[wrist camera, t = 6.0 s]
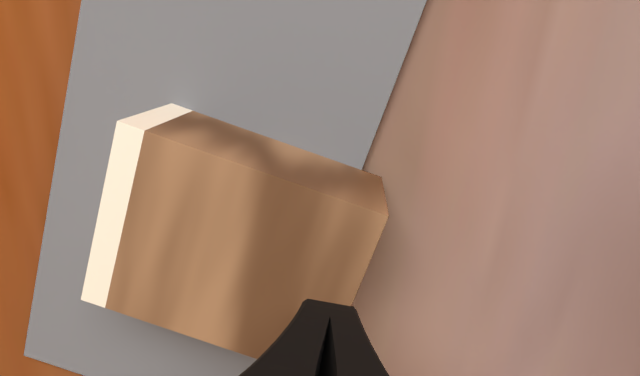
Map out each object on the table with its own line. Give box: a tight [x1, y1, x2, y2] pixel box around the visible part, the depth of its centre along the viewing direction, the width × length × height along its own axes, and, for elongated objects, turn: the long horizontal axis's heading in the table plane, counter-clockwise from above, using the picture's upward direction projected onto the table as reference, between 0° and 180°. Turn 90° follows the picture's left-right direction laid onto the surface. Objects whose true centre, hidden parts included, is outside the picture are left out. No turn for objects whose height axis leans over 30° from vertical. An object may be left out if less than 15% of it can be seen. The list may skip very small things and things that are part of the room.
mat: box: [24, 0, 427, 376], centre depth 18 cm, size 11×20×1 cm, turn 161°
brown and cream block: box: [81, 103, 389, 359], centre depth 16 cm, size 4×6×8 cm
